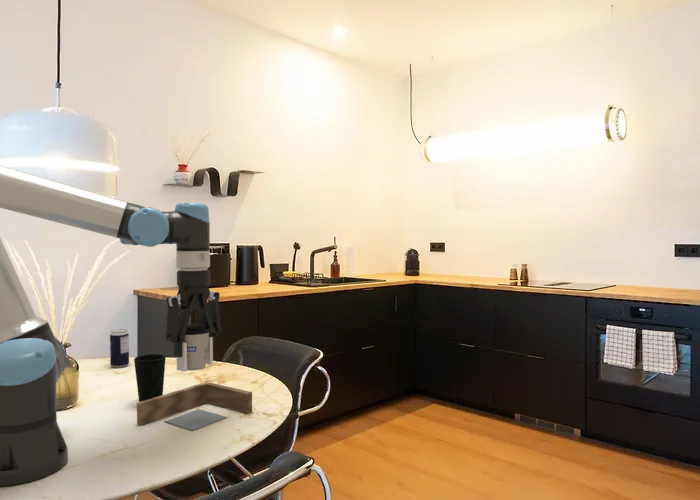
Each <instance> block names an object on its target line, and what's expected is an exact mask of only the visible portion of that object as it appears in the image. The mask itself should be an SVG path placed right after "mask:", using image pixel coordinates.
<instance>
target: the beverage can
mask: <svg viewBox="0 0 700 500" xmlns="http://www.w3.org/2000/svg"><path fill="white" fill-rule="evenodd" d="M129 341H130V337H129V332H128V329H126V328H121V329H120V328H119V329H112V330H111V332H110V334H109V351H110V352H109V355H110V366H111V367H112V368H115V369H121V368H125V367H127V366H128V365H129V363H130V346H129V345H130V344H129V343H130V342H129Z"/></svg>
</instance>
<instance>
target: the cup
mask: <svg viewBox="0 0 700 500" xmlns="http://www.w3.org/2000/svg"><path fill="white" fill-rule="evenodd" d="M133 360H134V361H133V362H134V369H135V376H136V377H135V379H136V380H135V381H136V386H137V387H136V388H137V395H138V402H141V401H145V400H148V399H151V398H155V397H158V396H161V395H164V384H165V371H166V355H165V354H162V353H161V354H160V353H150V354H141V355H138V356H136V357H134V358H133Z"/></svg>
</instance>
